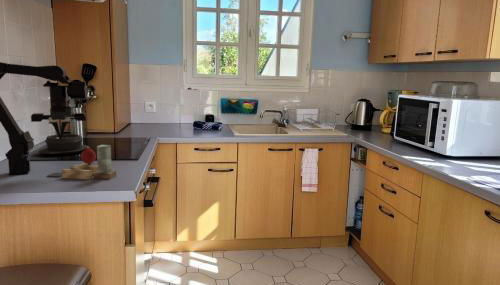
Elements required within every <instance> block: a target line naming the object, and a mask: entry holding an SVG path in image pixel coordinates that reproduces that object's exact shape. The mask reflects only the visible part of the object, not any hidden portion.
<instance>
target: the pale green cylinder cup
mask: <svg viewBox="0 0 500 285" xmlns="http://www.w3.org/2000/svg"><path fill="white" fill-rule="evenodd" d="M96 158H97V159H96V160H97V166H98V171H97V172H94V173H93V174H92V179H98V180H99V179H101V180H103V179H104V180H112V179H114V178H115V177H117V170H112V167H113V166H112V145H111V144H100V145H97V146H96Z"/></svg>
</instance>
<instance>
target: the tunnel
mask: <svg viewBox="0 0 500 285" xmlns="http://www.w3.org/2000/svg"><path fill="white" fill-rule="evenodd" d="M97 171H98V165H88V163H85V162H82V163H80V164H72V167H70V168H62V169H61V173H62V179H74V180H76V179H77V180H93V173H94V172H97Z"/></svg>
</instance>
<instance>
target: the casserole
mask: <svg viewBox="0 0 500 285" xmlns="http://www.w3.org/2000/svg"><path fill="white" fill-rule="evenodd" d="M45 138H46V139H45V140H44V143H45V144H46V148H43V149H40V150H38V151H37V153H40V154H43V155H44V154H45V155H59V156H60V155H64V156H65V155H73V154H77V153H78V152H80V151H84V150H85V149H86V147H89V148H90V146H89V145H86V144H82V142H83V140H84V139H83V138H82V137H81V135H79V134H71V133H67V134H64V133H63V136H62V139H59V137H58V135H57V134H52V135H48V136H46V137H45Z"/></svg>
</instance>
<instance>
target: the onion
mask: <svg viewBox="0 0 500 285" xmlns="http://www.w3.org/2000/svg"><path fill="white" fill-rule="evenodd" d="M80 158H81V161H82V163H88V166H91V165H92V164H93V163H94V162H95V161H96V160H97V159H96V158H97V153H96V152H95V151H94V150H93V148H90V146H89V147H86V149H84V150H82V152H81V155H80Z"/></svg>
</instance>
